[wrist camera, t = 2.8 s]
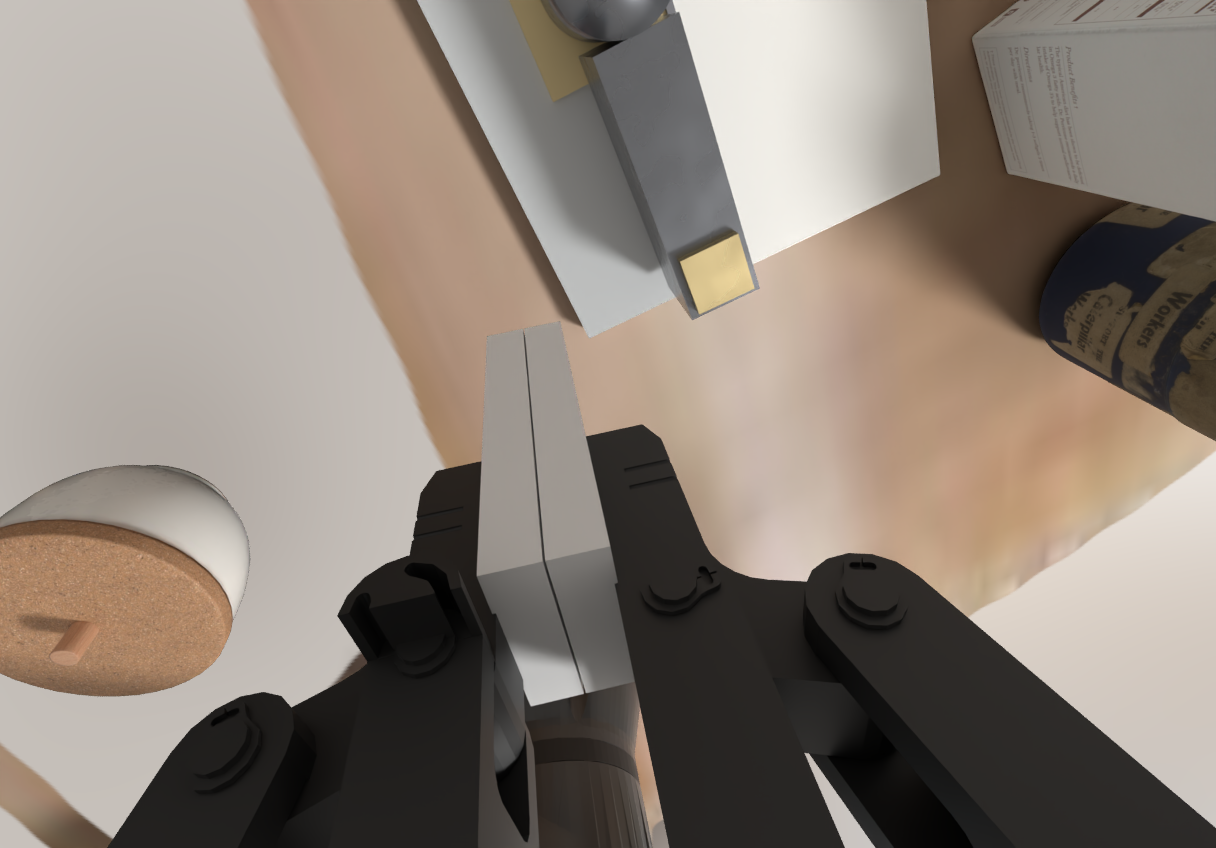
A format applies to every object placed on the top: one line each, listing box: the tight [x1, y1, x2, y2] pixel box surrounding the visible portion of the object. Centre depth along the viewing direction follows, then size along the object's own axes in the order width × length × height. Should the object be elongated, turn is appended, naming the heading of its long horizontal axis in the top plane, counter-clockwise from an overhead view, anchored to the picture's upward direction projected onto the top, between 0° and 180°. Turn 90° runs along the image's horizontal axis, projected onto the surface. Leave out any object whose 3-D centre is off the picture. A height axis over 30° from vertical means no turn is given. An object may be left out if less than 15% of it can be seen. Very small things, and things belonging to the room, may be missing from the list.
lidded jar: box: [0, 465, 250, 696], centre depth 28 cm, size 11×11×9 cm
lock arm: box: [541, 0, 760, 320], centre depth 21 cm, size 14×4×5 cm, turn 23°
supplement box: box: [972, 0, 1216, 221], centre depth 21 cm, size 7×7×13 cm
